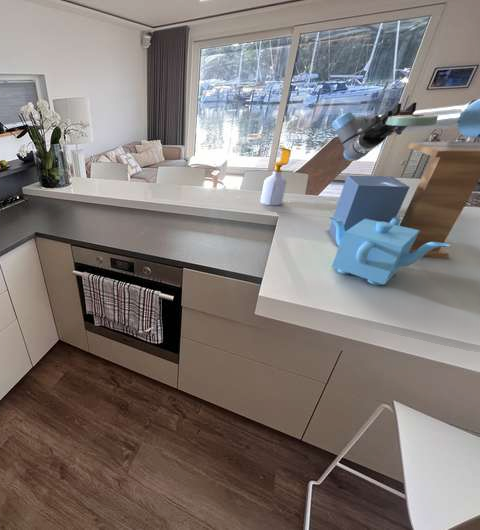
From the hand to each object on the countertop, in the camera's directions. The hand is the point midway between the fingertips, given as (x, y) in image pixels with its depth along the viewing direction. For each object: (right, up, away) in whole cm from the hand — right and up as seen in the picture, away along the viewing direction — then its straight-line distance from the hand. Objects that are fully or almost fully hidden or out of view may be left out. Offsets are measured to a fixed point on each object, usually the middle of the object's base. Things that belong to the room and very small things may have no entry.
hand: (406, 107), depth 89 cm
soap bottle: (-19, -20, +45) cm, 53 cm away
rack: (+3, -43, +3) cm, 43 cm away
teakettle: (-20, -51, -8) cm, 55 cm away
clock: (0, -4, +1) cm, 4 cm away
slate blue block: (-10, -41, +9) cm, 43 cm away
